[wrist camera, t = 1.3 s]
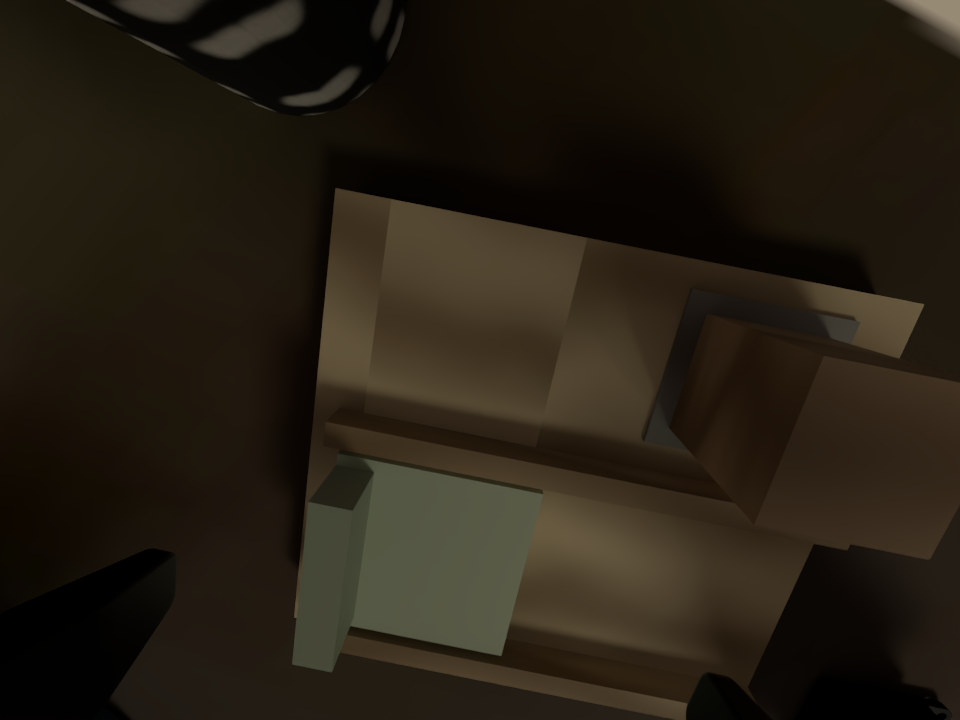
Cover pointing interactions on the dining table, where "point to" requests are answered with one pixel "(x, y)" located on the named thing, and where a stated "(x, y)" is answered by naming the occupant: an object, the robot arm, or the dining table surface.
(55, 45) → the dining table surface
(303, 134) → the dining table surface
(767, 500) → the walnut block
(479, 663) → the puzzle board
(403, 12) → the spotted tube
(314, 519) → the lid
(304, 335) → the dining table surface
